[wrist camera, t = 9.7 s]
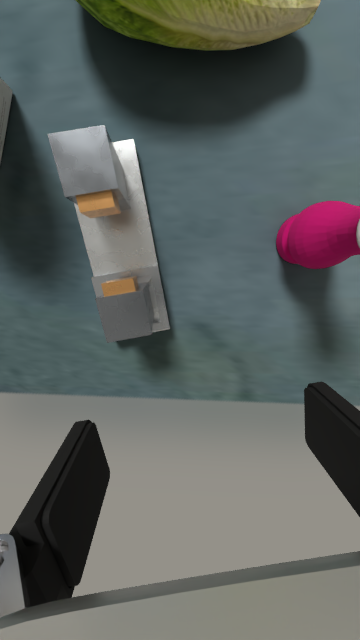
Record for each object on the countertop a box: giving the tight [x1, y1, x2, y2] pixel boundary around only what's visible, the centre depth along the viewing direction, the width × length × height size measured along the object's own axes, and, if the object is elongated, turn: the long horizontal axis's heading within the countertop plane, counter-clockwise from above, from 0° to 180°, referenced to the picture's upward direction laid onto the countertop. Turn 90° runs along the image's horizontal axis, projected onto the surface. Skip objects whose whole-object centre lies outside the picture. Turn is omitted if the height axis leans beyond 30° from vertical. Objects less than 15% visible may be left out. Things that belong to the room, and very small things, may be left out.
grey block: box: [95, 276, 154, 343], centre depth 25 cm, size 6×4×8 cm
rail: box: [48, 125, 170, 332], centre depth 24 cm, size 8×22×10 cm, turn 10°
